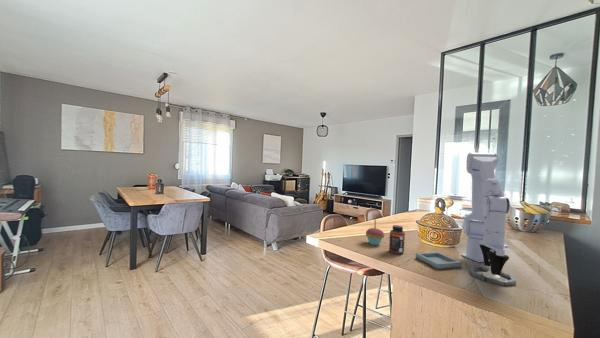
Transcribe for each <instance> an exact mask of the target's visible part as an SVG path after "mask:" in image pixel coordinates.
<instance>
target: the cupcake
mask: <svg viewBox="0 0 600 338" xmlns="http://www.w3.org/2000/svg"><path fill="white" fill-rule="evenodd" d="M365 236H366V238H367V239H368V244H370V245H373V246H379V245H380V244H381V242H382V239H384V237H385V233H384V231H383V230H381V229H378V228H377V219H376V218H374V228H371V227H370V228H368V229H367V230H366V231H365Z"/></svg>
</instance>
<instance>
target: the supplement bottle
mask: <svg viewBox="0 0 600 338" xmlns="http://www.w3.org/2000/svg"><path fill="white" fill-rule="evenodd" d="M403 230H404V228H403V226H402V225H398V224H393V225H392V229H391V230H390V231H389V245H388V247H389V248H388V249H389V252H390V253H392V254H395V255H403V254H404V252H405V240H406V239H405V237H406V236H405V235H406V233H405V231H403Z"/></svg>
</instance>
